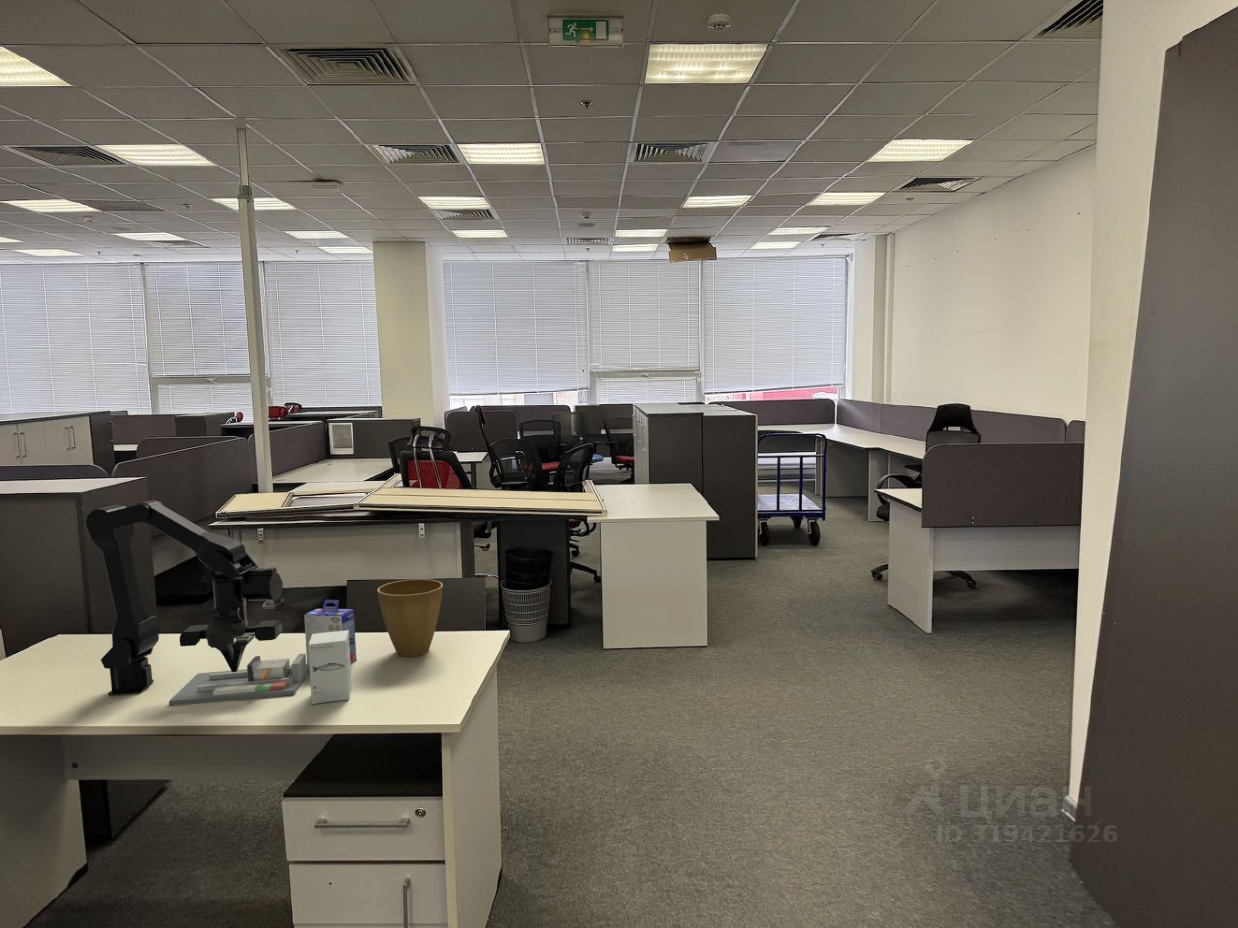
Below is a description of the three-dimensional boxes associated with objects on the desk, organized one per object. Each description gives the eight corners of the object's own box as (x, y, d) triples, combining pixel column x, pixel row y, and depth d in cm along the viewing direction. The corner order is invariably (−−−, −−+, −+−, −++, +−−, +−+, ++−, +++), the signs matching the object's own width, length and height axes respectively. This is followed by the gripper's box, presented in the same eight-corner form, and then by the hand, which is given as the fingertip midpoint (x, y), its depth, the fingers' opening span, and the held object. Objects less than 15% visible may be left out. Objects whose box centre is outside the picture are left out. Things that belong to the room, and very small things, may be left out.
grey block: (242, 691, 153) (240, 672, 153) (256, 673, 163) (255, 656, 162) (278, 687, 155) (276, 669, 154) (290, 671, 164) (289, 653, 163)
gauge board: (169, 705, 150) (167, 681, 150) (198, 677, 165) (196, 655, 165) (294, 694, 154) (292, 671, 154) (311, 667, 169) (310, 646, 169)
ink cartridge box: (358, 659, 174) (354, 598, 172) (345, 668, 169) (341, 605, 167) (320, 657, 176) (316, 597, 174) (306, 666, 171) (301, 604, 169)
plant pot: (417, 666, 168) (413, 597, 167) (367, 657, 175) (363, 591, 173) (458, 645, 182) (455, 581, 180) (411, 637, 188) (407, 576, 186)
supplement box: (311, 705, 149) (306, 644, 147) (315, 691, 156) (311, 632, 155) (350, 700, 151) (346, 639, 149) (352, 686, 158) (349, 628, 157)
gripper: (165, 614, 148) (171, 690, 150) (265, 608, 151) (270, 682, 153) (187, 599, 159) (193, 669, 161) (280, 593, 162) (285, 663, 164)
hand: (234, 671), depth 159 cm, fingers closed
